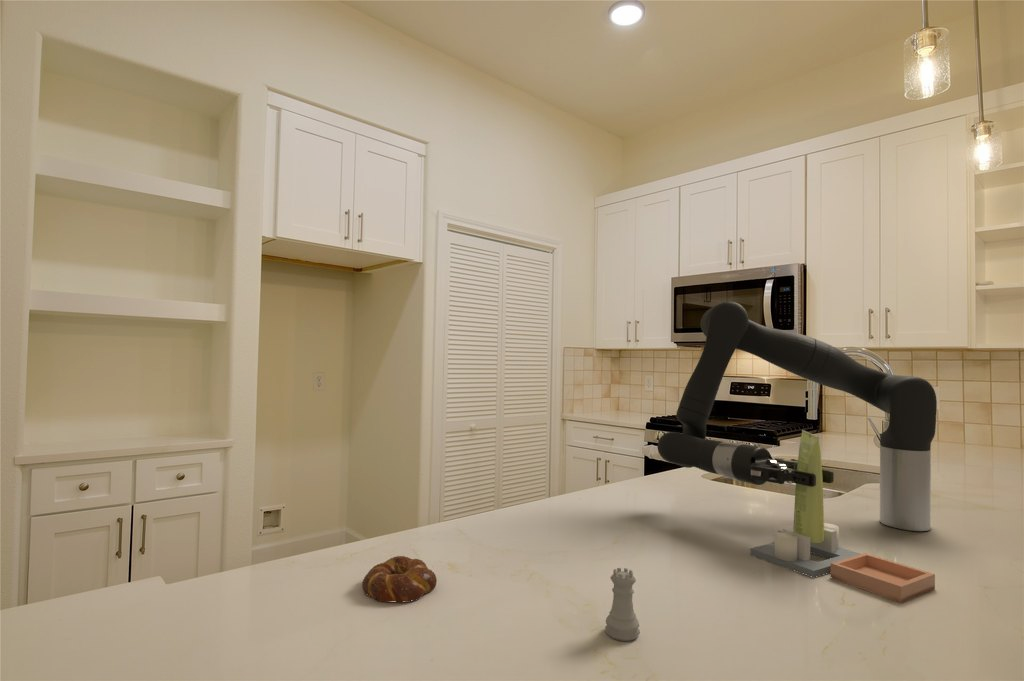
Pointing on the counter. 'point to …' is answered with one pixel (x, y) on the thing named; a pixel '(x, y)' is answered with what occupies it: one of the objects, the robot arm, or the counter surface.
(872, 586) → the tray
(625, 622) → the rook chess piece
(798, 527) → the tube
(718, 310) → the robot arm
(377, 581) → the brown pretzel bun
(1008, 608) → the counter surface
